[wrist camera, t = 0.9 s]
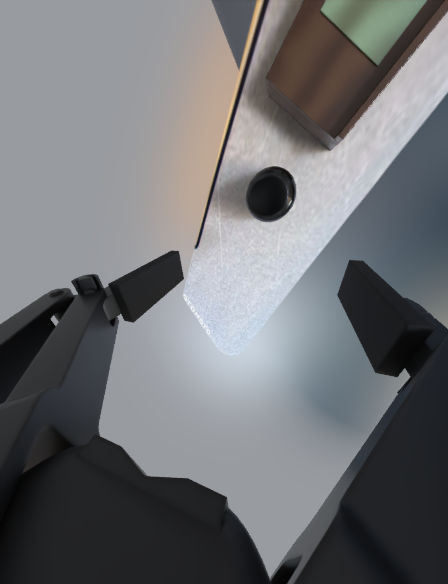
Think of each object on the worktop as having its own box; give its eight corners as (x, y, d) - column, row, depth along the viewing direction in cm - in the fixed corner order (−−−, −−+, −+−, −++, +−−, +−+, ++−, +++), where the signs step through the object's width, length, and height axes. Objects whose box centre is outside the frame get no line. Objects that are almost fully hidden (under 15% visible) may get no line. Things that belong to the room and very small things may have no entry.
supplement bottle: (295, 210, 31) (299, 220, 21) (257, 219, 33) (245, 231, 23) (292, 165, 28) (296, 152, 18) (251, 179, 30) (235, 173, 20)
